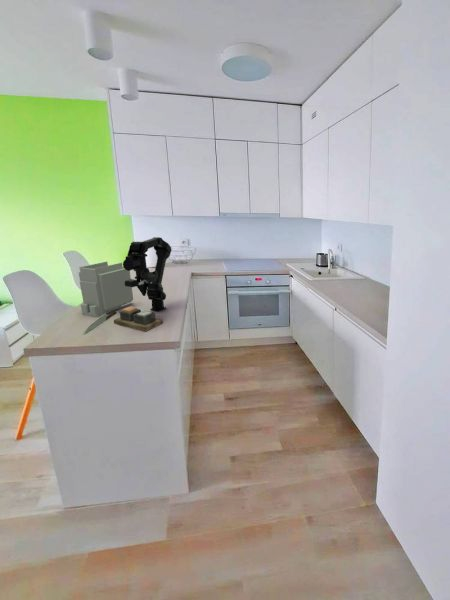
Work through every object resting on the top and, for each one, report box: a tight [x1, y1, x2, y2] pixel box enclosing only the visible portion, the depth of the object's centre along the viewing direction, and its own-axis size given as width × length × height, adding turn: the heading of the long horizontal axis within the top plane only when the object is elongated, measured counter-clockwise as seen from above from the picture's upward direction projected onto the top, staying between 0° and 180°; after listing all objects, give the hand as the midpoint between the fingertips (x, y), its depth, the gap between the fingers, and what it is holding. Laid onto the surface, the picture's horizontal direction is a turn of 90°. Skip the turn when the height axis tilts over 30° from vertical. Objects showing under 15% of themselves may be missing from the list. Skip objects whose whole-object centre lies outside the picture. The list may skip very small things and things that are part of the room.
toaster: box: [78, 261, 134, 318], centre depth 166 cm, size 17×27×26 cm, turn 153°
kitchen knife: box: [82, 311, 118, 336], centre depth 146 cm, size 4×1×30 cm
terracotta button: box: [122, 306, 138, 313], centre depth 146 cm, size 5×5×4 cm
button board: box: [113, 308, 164, 333], centre depth 145 cm, size 12×22×6 cm, turn 59°
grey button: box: [137, 310, 152, 317], centre depth 142 cm, size 5×5×4 cm
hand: (144, 295), depth 151 cm, fingers closed
